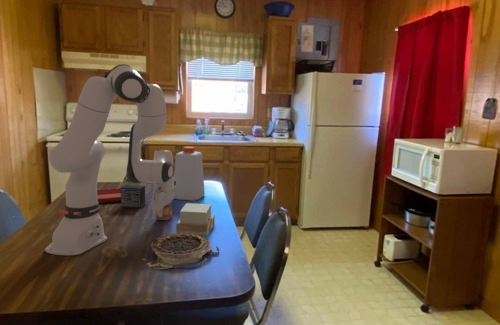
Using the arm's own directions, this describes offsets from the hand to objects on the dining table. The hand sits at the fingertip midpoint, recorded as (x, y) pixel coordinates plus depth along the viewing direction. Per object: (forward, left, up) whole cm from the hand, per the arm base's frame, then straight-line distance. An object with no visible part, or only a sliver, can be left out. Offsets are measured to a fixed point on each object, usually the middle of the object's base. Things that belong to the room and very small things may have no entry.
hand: (164, 213), depth 167 cm
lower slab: (-9, -18, -3) cm, 20 cm away
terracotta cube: (0, 0, -2) cm, 2 cm away
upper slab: (-8, -18, +2) cm, 20 cm away
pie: (-32, -19, -3) cm, 37 cm away
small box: (+14, +22, -3) cm, 26 cm away
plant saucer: (+24, +40, -3) cm, 46 cm away
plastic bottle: (+36, 0, -3) cm, 36 cm away
